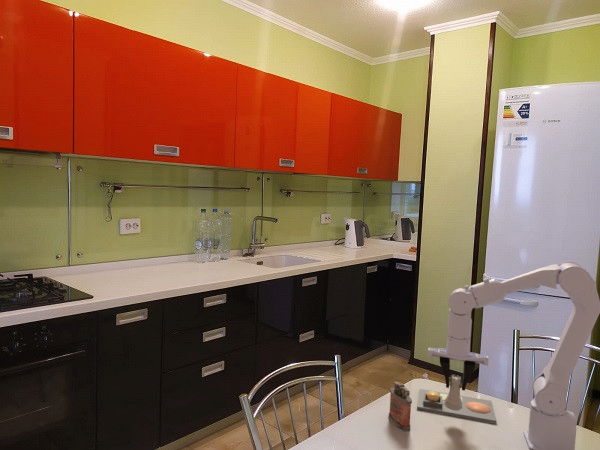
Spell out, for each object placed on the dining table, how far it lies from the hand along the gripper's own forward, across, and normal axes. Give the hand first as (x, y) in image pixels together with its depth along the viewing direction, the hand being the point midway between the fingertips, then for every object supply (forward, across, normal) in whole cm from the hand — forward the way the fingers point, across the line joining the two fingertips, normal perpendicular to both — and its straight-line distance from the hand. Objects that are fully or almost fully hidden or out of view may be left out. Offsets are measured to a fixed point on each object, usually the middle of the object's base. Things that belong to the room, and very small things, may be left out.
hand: (455, 387), depth 113 cm
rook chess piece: (+5, 0, 0) cm, 5 cm away
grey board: (+9, -1, -10) cm, 14 cm away
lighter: (+10, +13, +5) cm, 17 cm away
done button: (+8, +5, -8) cm, 12 cm away
